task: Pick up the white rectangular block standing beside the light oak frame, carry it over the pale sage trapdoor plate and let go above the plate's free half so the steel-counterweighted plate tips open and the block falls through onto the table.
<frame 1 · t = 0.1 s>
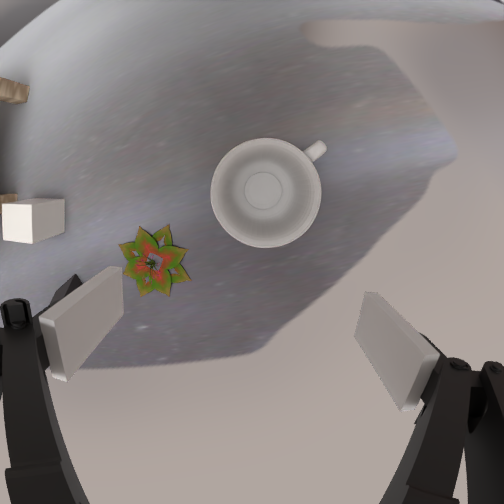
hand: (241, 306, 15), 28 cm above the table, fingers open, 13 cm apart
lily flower: (155, 260, 44), on the table
teacup: (270, 183, 41), on the table
white rectangular block: (49, 214, 42), on the table
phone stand: (81, 302, 45), on the table
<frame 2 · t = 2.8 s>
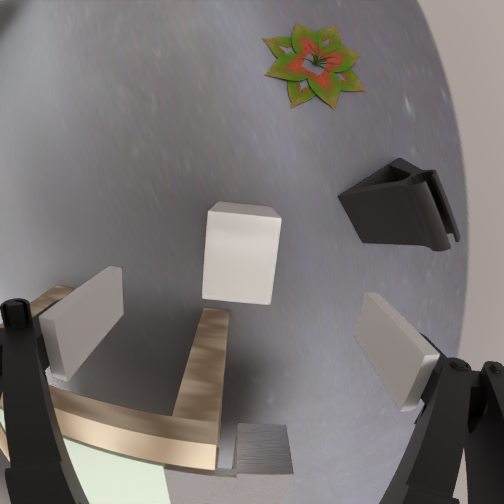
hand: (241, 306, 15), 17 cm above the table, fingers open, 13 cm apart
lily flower: (313, 65, 28), on the table
trapdoor: (140, 478, 20), point 17 cm above the table, hinge at 0.0°
trapdoor frame: (139, 375, 36), on the table
white rectangular block: (241, 237, 32), on the table
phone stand: (380, 199, 31), on the table
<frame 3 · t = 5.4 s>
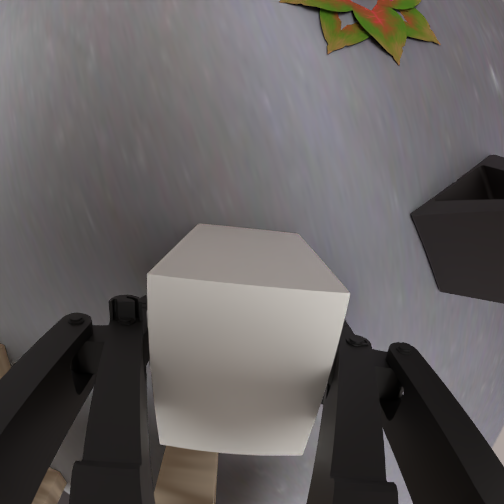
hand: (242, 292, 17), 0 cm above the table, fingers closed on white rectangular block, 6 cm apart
trapdoor frame: (103, 456, 22), on the table
white rectangular block: (242, 288, 17), on the table, touching gripper
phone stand: (467, 219, 17), on the table
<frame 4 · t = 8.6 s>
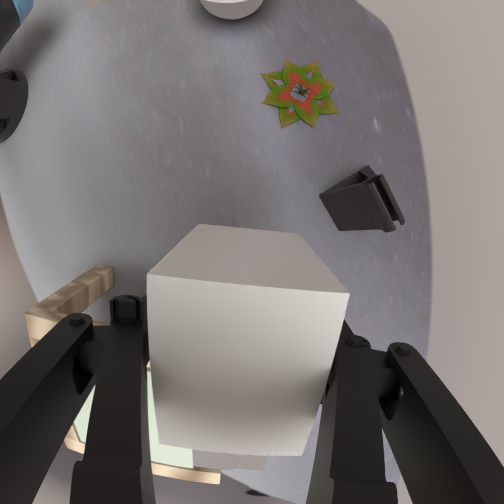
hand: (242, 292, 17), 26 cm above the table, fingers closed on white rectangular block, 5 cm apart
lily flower: (299, 94, 39), on the table
trapdoor: (166, 409, 31), point 17 cm above the table, hinge at 0.0°
teacup: (227, 2, 35), on the table
trapdoor frame: (163, 339, 47), on the table
white rectangular block: (242, 288, 17), point 26 cm above the table, touching gripper
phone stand: (353, 197, 42), on the table
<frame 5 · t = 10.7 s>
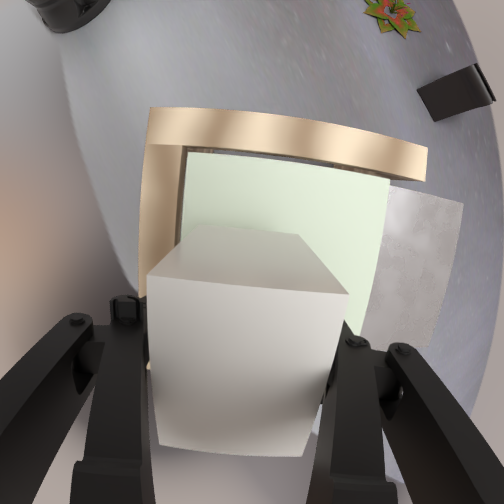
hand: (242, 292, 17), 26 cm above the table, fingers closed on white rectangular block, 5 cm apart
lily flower: (389, 13, 34), on the table
trapdoor: (327, 261, 26), point 17 cm above the table, hinge at 0.0°
trapdoor frame: (266, 227, 42), on the table
white rectangular block: (242, 288, 17), point 26 cm above the table, touching gripper
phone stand: (440, 97, 38), on the table
when the fingers open (22 cm above the table, at t = 11.5 s): white rectangular block drops 13 cm and tips over, point 9 cm above the table.
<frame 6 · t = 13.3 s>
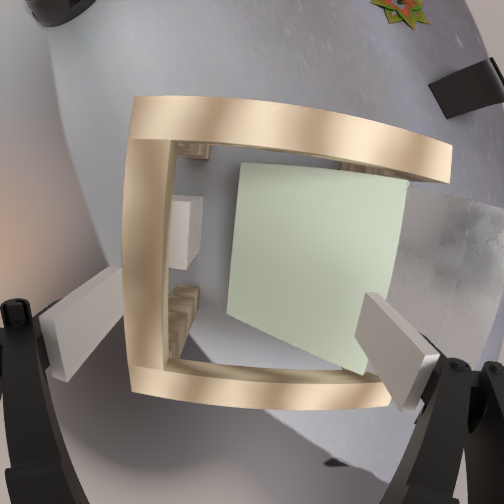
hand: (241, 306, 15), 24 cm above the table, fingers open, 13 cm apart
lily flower: (396, 4, 31), on the table
trapdoor: (360, 269, 25), point 15 cm above the table, hinge at -41.3°
trapdoor frame: (268, 231, 39), on the table
white rectangular block: (162, 234, 30), point 9 cm above the table, tilted 180°
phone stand: (452, 93, 34), on the table
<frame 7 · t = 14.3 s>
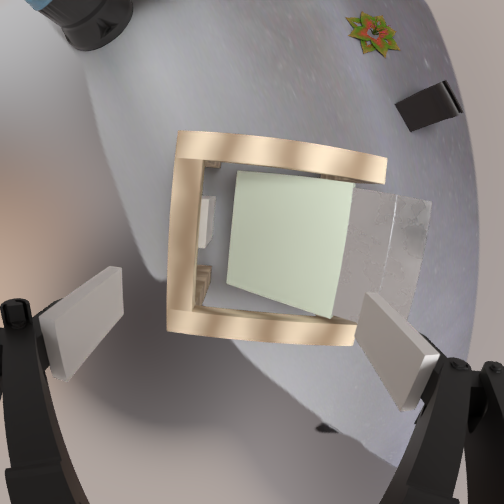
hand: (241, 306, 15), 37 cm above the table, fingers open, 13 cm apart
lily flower: (372, 35, 43), on the table
trapdoor: (324, 244, 37), point 15 cm above the table, hinge at -35.5°
trapdoor frame: (265, 223, 51), on the table
white rectangular block: (188, 222, 42), point 9 cm above the table, tilted 180°
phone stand: (417, 109, 46), on the table
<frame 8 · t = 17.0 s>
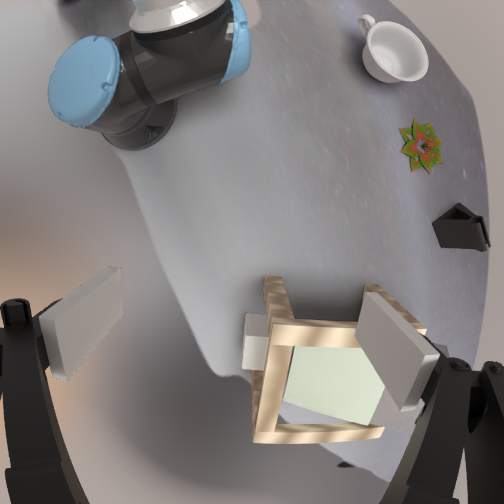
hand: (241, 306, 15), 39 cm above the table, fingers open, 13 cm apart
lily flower: (420, 146, 50), on the table
trapdoor: (365, 377, 44), point 15 cm above the table, hinge at -27.5°
teacup: (372, 61, 46), on the table
trapdoor frame: (314, 334, 59), on the table
white rectangular block: (259, 354, 49), point 9 cm above the table, tilted 180°
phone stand: (449, 224, 54), on the table
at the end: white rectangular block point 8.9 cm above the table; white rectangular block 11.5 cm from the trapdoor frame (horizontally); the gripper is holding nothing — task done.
